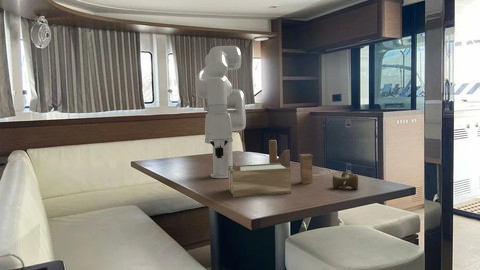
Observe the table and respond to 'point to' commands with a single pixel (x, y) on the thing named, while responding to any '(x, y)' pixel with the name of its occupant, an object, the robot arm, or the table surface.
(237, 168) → the lid
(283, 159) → the wooden block
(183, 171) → the table surface
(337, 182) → the kendama
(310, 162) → the wooden square column
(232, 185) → the wooden box
